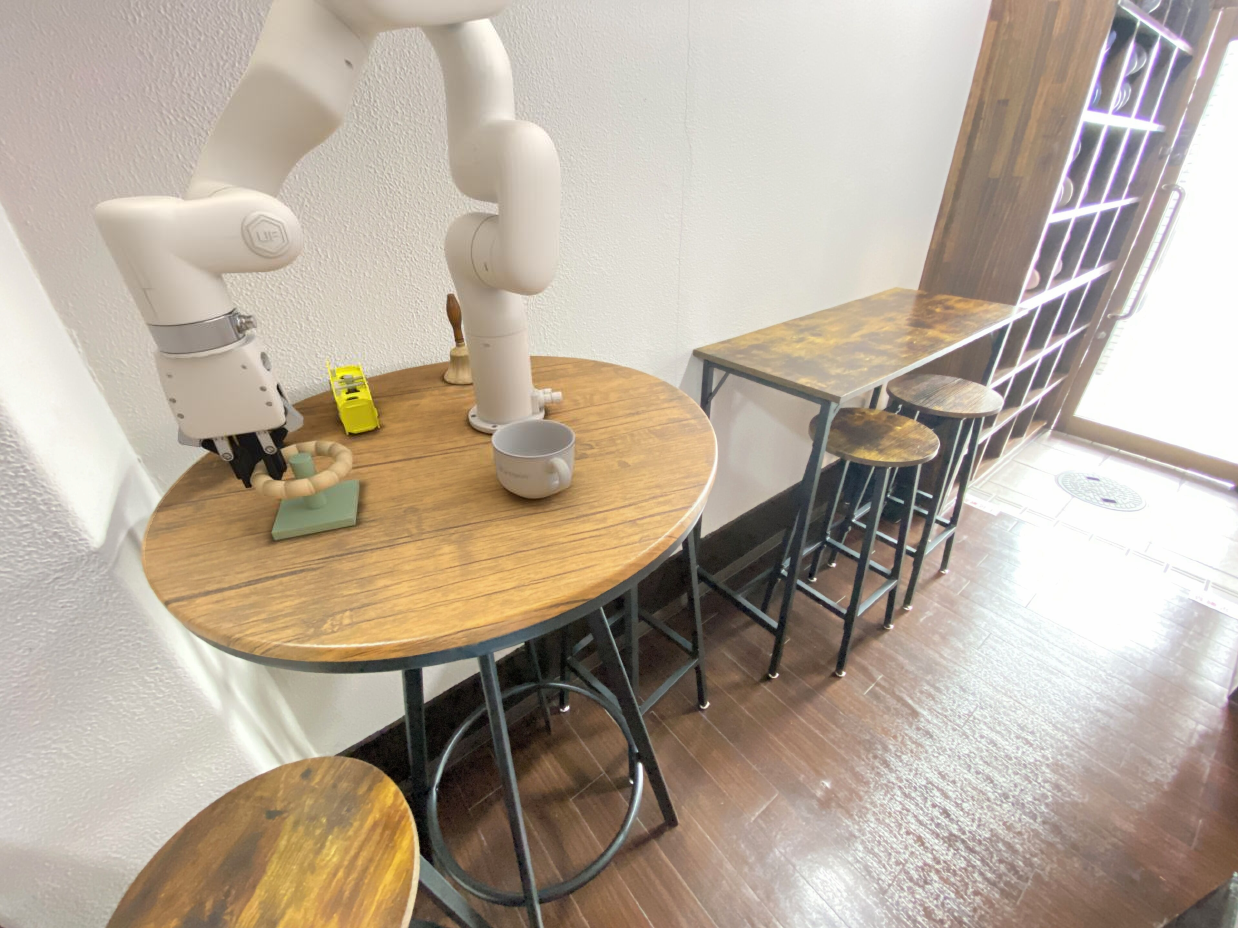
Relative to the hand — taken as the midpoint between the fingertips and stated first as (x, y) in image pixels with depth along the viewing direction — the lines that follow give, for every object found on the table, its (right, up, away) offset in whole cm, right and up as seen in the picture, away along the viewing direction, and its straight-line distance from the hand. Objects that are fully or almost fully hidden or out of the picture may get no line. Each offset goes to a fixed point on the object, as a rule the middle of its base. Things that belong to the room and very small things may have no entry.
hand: (265, 478), depth 64 cm
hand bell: (+13, +19, +41) cm, 47 cm away
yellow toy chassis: (-2, +10, +27) cm, 29 cm away
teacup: (+32, -2, +8) cm, 33 cm away
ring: (+4, +1, +1) cm, 4 cm away
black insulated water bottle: (-11, +3, +16) cm, 20 cm away
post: (+4, -4, +4) cm, 7 cm away
